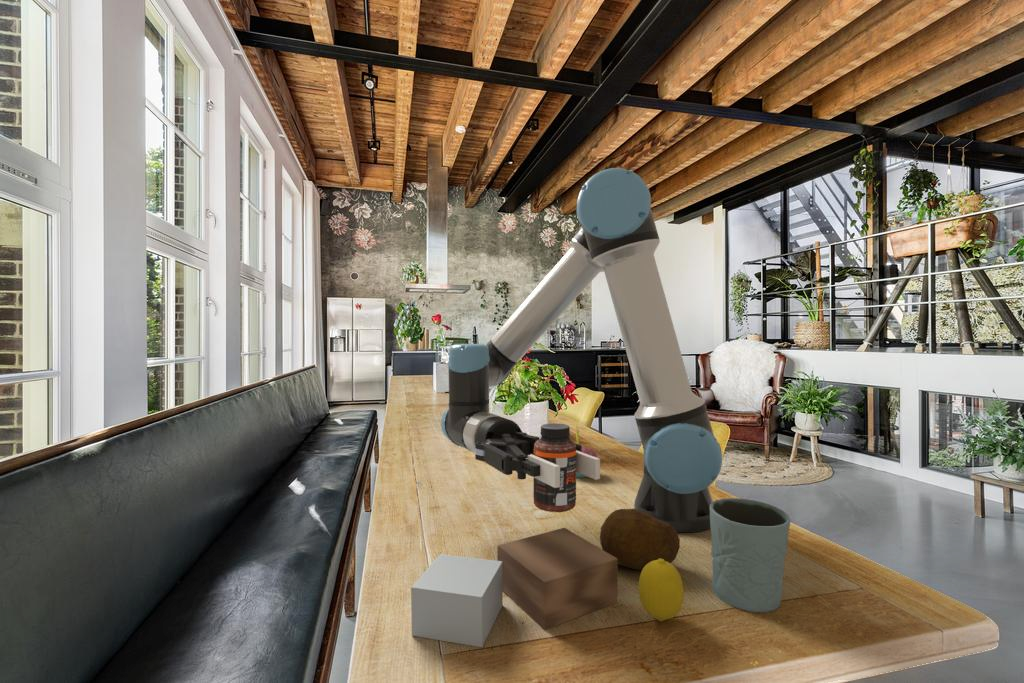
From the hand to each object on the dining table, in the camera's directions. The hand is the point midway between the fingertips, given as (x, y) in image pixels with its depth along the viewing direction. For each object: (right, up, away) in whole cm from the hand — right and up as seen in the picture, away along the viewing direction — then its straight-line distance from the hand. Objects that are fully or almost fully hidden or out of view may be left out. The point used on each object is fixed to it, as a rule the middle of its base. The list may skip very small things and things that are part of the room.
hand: (578, 472), depth 64 cm
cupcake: (+8, -17, +60) cm, 63 cm away
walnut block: (-3, -18, +5) cm, 19 cm away
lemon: (+10, -19, -1) cm, 21 cm away
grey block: (-15, -19, -1) cm, 24 cm away
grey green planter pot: (+24, -18, +4) cm, 31 cm away
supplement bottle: (-3, -6, +5) cm, 8 cm away
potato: (+11, -18, +13) cm, 25 cm away
